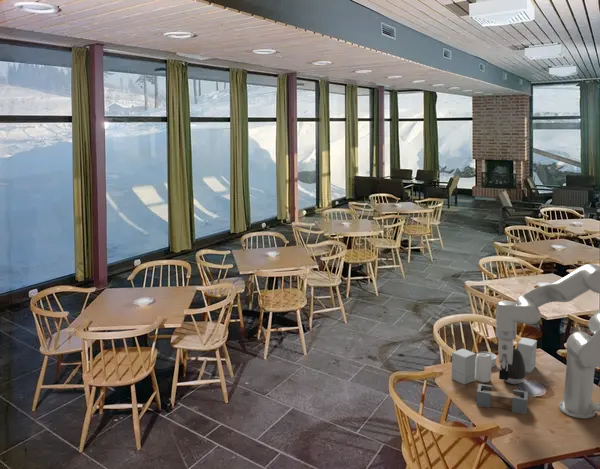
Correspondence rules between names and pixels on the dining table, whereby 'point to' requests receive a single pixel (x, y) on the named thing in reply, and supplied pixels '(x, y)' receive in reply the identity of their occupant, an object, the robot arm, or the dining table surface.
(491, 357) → the ramekin
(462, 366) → the supplement box
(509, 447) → the dining table surface
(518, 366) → the dark grey egg shape
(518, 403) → the endcaps
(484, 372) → the can
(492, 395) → the slat
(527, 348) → the small box
